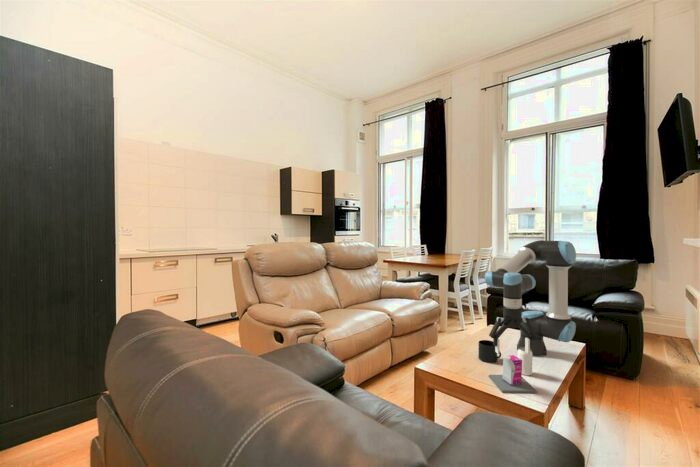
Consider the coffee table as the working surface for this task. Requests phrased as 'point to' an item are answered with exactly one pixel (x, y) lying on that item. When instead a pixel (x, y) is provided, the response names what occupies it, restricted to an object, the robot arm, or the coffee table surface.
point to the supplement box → (512, 370)
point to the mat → (507, 388)
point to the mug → (487, 351)
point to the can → (525, 361)
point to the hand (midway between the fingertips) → (512, 352)
